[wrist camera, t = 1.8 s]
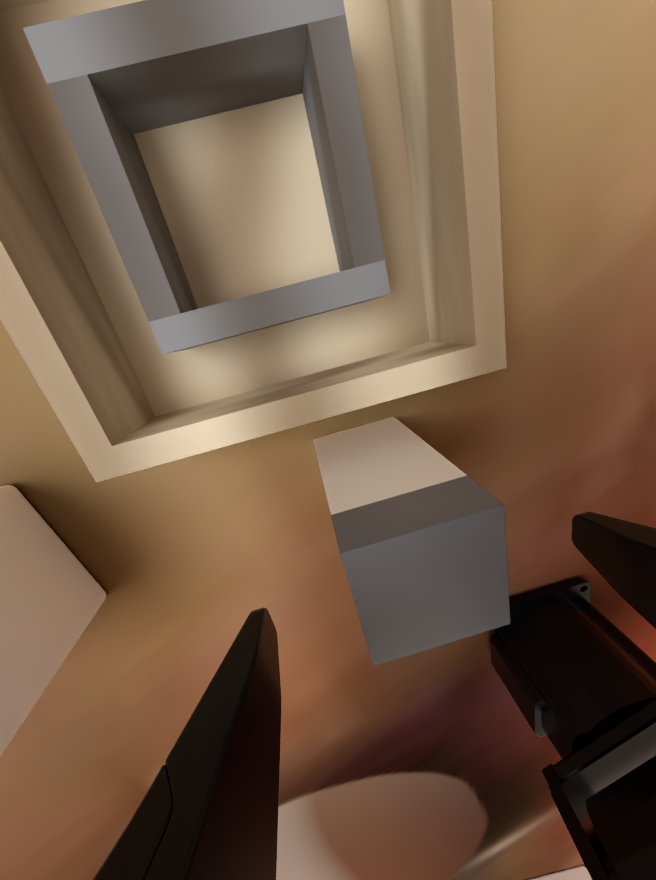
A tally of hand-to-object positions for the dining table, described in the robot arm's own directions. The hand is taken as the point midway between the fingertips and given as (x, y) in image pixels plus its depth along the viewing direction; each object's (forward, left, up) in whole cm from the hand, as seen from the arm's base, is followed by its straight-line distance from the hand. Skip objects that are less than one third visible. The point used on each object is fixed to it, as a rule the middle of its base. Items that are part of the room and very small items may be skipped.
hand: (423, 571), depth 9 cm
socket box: (+2, -11, -7) cm, 13 cm away
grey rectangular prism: (0, 0, -7) cm, 7 cm away
